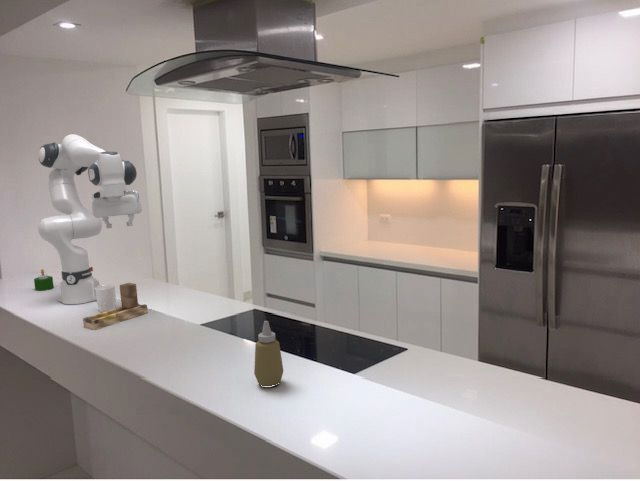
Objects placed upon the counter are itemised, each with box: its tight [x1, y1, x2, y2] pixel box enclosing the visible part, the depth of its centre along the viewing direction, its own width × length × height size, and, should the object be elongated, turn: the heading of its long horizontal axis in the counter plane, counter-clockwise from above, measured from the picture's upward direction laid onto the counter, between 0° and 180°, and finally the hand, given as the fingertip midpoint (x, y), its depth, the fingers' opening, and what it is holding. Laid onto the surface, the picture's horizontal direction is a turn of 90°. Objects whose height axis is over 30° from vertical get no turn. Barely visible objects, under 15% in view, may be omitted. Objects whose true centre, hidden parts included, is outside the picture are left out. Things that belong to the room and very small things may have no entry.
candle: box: [33, 268, 55, 292], centre depth 270 cm, size 8×8×10 cm
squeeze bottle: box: [253, 320, 284, 386], centre depth 149 cm, size 8×8×18 cm
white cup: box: [95, 284, 117, 313], centre depth 229 cm, size 8×8×10 cm
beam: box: [82, 302, 149, 331], centre depth 215 cm, size 24×7×4 cm, turn 145°
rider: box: [119, 282, 139, 310], centre depth 219 cm, size 4×4×10 cm
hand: (119, 227), depth 217 cm, fingers open, 8 cm apart
